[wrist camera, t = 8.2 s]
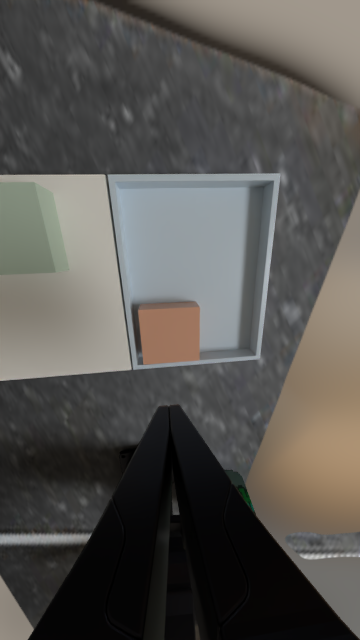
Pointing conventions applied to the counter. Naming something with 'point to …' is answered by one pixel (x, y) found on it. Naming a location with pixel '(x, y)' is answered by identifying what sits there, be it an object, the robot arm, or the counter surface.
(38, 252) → the tile sage
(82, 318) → the board
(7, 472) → the counter surface
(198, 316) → the tile terracotta
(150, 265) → the box
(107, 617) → the robot arm
